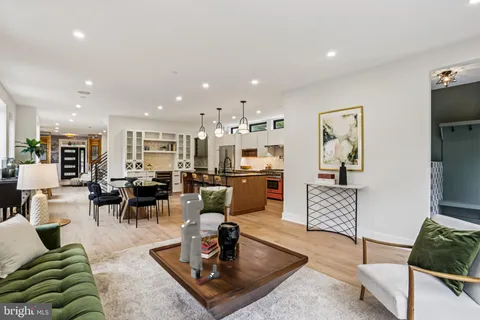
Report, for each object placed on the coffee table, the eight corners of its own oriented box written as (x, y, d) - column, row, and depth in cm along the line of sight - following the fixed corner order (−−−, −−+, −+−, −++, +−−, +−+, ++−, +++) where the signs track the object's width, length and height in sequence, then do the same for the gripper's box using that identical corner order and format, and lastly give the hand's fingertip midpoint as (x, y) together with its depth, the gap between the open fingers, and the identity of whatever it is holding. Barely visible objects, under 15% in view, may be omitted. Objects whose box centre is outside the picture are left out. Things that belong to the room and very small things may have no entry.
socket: (190, 276, 190) (191, 268, 190) (196, 274, 194) (196, 266, 193) (195, 278, 186) (195, 270, 186) (201, 276, 190) (201, 268, 190)
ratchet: (194, 282, 181) (194, 270, 180) (214, 273, 195) (215, 262, 195) (200, 285, 176) (200, 273, 176) (221, 276, 191) (221, 265, 190)
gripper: (185, 250, 193) (185, 273, 193) (199, 256, 181) (199, 281, 181) (193, 247, 198) (193, 270, 198) (207, 253, 187) (207, 277, 187)
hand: (196, 275), depth 190 cm, fingers closed on socket, 5 cm apart
